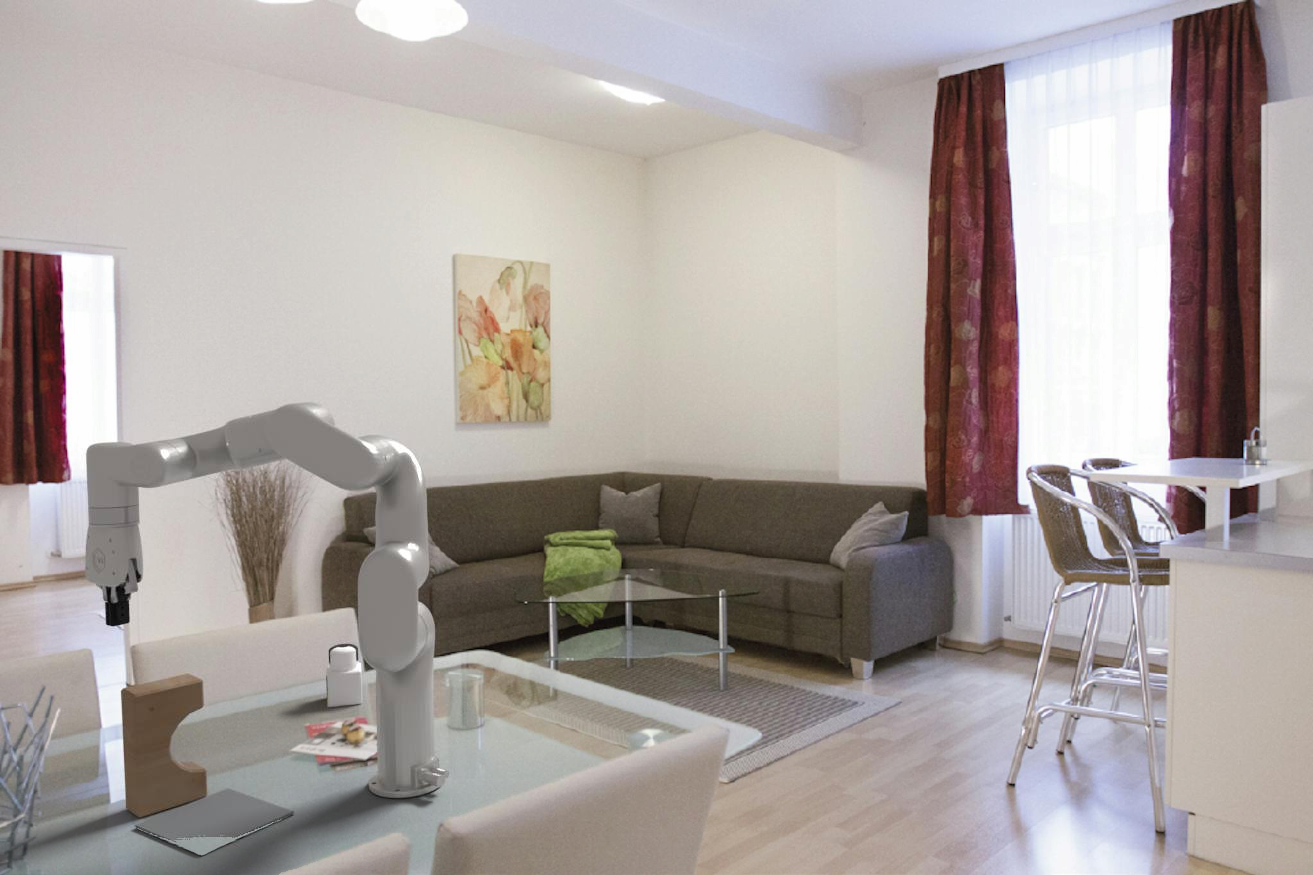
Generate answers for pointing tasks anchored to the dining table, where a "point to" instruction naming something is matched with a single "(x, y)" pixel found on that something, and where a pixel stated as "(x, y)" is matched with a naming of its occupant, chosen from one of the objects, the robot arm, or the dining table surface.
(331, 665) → the medicine bottle
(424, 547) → the robot arm
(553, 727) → the dining table surface
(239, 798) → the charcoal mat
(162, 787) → the decorative block
